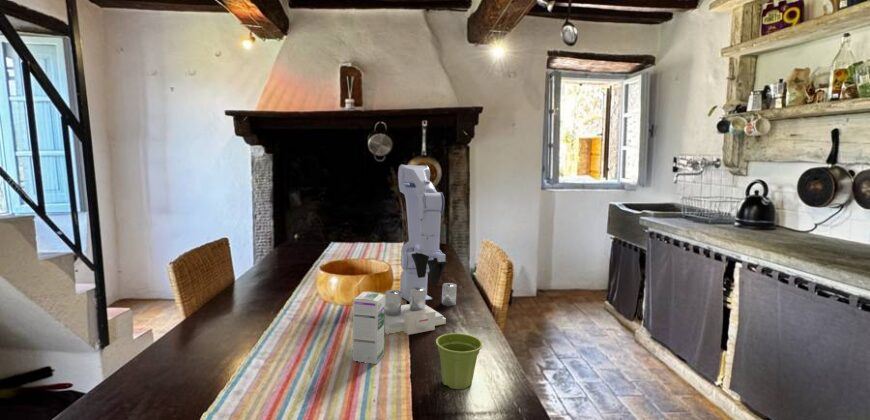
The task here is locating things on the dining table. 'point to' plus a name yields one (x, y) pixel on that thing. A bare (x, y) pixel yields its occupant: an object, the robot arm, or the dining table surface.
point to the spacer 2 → (417, 298)
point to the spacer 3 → (449, 294)
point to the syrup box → (369, 327)
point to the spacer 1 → (393, 302)
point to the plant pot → (458, 358)
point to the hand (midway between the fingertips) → (427, 280)
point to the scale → (413, 320)
